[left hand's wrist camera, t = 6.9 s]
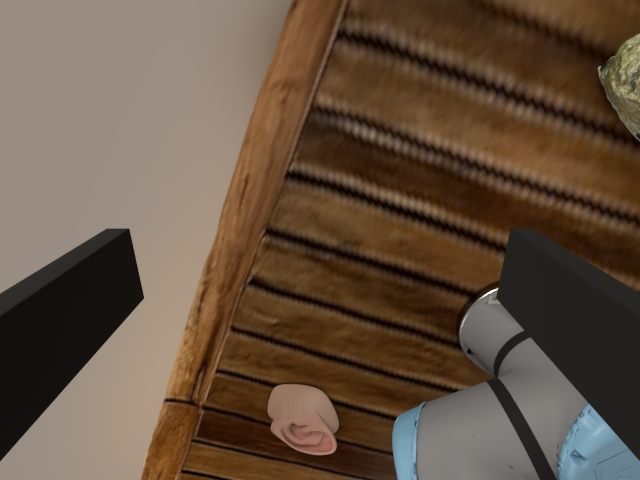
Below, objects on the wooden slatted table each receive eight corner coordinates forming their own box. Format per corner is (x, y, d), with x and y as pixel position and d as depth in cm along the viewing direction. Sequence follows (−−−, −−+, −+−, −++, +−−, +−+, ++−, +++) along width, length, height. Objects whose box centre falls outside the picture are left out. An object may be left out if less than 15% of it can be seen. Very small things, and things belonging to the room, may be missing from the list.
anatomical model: (255, 406, 54) (329, 396, 54) (259, 387, 58) (328, 377, 57) (275, 465, 59) (343, 456, 58) (278, 443, 63) (341, 434, 62)
